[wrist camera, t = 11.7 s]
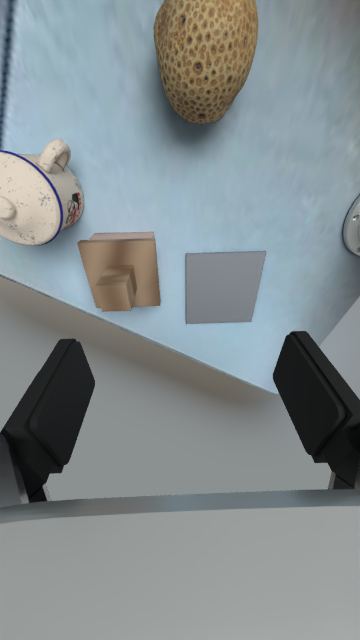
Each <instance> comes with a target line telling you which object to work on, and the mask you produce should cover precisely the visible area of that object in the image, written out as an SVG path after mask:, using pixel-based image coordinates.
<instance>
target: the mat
mask: <svg viewBox="0 0 360 640" xmlns="http://www.w3.org/2000/svg"><path fill="white" fill-rule="evenodd" d="M265 256H266V252H265V251H250V252H215V253H186V324H193V323H224V322H252V317H253V312H254V307H255V303H256V298H257V293H258V289H259V284H260V279H261V275H262V270H263V265H264V261H265Z"/></svg>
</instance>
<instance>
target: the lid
mask: <svg viewBox="0 0 360 640" xmlns="http://www.w3.org/2000/svg"><path fill="white" fill-rule="evenodd" d="M77 244H78V247H79V251H80V254H81V258H82V261H83V264H84V268H85V271H86V275H87V278H88V281H89V285H90V288H91V291H92V295H93V298H94V302H95V305H96V308H101V309H102V312H105V311H131V308H132V307H135V306H160V302H161V301H160V290H159V279H158V268H157V256H156V245H155V238H140V239H110V240H80V241H79V242H78V243H77Z"/></svg>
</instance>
